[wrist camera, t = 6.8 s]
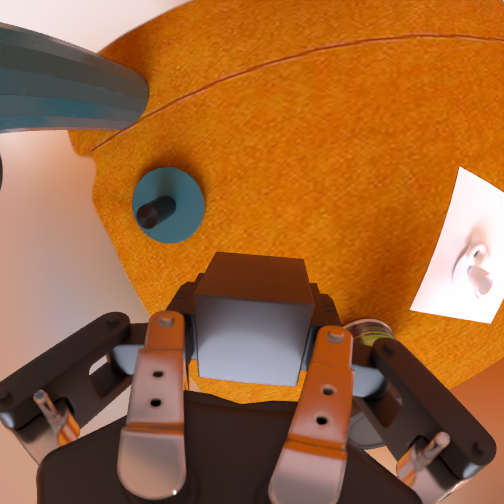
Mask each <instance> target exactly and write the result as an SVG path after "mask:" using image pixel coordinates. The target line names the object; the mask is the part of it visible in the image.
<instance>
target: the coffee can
mask: <svg viewBox="0 0 504 504" xmlns="http://www.w3.org/2000/svg"><path fill="white" fill-rule="evenodd" d="M342 328H345V329H346V330H348V331H349V332H350V333H351V334H352V336H353V341H355V342H357V343H360V344H364V345H369V346H373V343H374V341H375V340H376V339H378V338H382V337H388V338H393V339H395V338H394V336H393V333H392V330H391V329H390V327H389V326H388V325H387V324H385V323H384V322H382V321H380V320H376V319H360V320H356V321H353V322H351V323H348V324H346V325H345V326H343V327H342ZM389 391H390V392H391V393H392V394H393V396H394V397H395V398H396V399H397V400H398V402H399V403H400V404H401V405H402V400H401V397H400V395H399V394H398V393H397V392H396V390H395V389H394V388H393V387H392V386H390V388H389ZM348 437H349V438H350V439H351V440H352V441H354V442H355V443H356V444H357V445H358V446H359V447H361V448H362V449H363V450H368V449H375V448H379V447H383V446H386V445H385V443H384V442H383V440H382V439H381V438H380V436H379V435H378V433H377V432H376V430H375V429H374V428H373V426H372V425H371V423H370V422H369V420H368V419H367V417H366V416H365V415H364V413H363V412H362V410H361V409H360V407H359V406H358V404H357V403H356V402H355V400H354V398H353V396H352V406H351V414H350V422H349V430H348Z"/></svg>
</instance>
